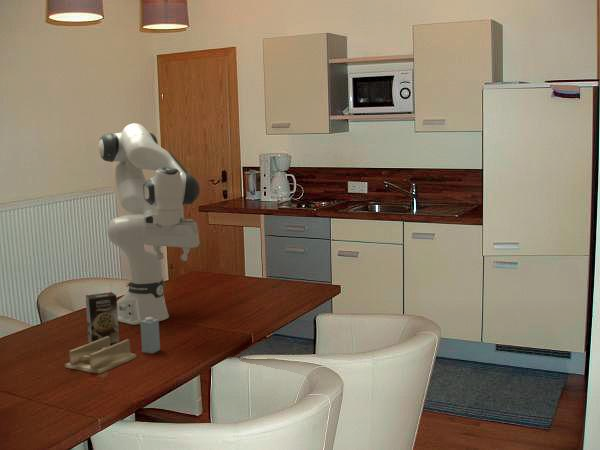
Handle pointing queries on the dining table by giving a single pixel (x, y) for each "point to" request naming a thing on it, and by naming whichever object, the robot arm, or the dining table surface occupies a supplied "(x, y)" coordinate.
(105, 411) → the dining table surface
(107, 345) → the beige ladder rack
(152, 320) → the block
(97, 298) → the coffee box
